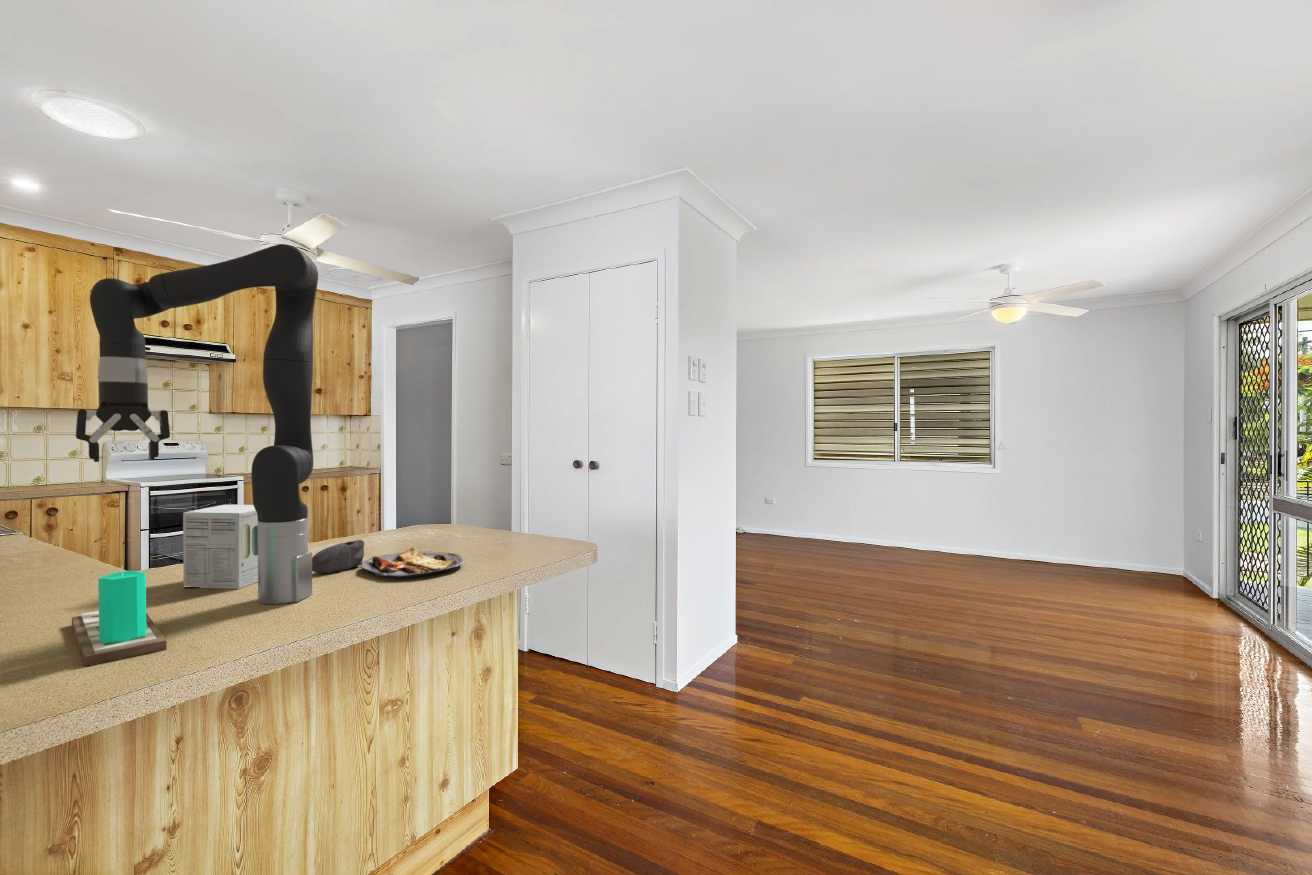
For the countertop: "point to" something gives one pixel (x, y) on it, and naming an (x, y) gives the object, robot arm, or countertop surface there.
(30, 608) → the countertop surface
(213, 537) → the supplement box
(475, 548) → the countertop surface
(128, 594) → the candle
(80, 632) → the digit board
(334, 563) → the perforated stone tool
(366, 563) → the food plate
